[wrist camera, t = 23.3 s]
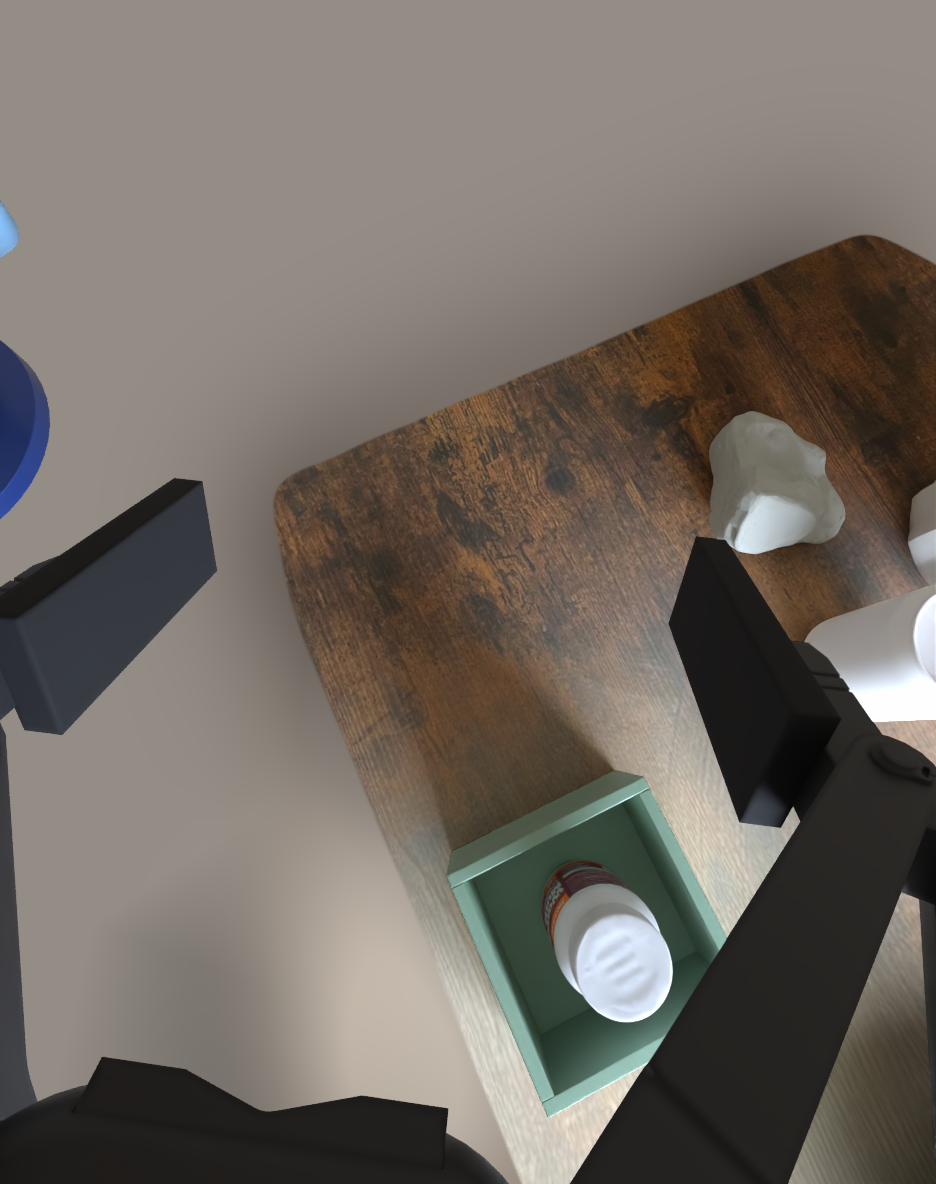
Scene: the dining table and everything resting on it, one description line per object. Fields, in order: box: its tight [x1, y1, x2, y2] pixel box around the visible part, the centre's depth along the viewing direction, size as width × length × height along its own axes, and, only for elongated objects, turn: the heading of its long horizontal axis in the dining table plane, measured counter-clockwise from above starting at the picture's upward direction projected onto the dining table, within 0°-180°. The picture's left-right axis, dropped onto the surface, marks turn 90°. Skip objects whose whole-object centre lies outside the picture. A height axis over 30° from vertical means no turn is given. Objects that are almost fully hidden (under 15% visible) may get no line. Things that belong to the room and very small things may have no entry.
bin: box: [447, 770, 727, 1118], centre depth 38 cm, size 14×14×8 cm
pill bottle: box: [541, 860, 672, 1022], centre depth 36 cm, size 6×6×11 cm
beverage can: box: [804, 585, 936, 722], centre depth 40 cm, size 8×8×12 cm
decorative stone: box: [708, 411, 845, 554], centre depth 46 cm, size 11×9×10 cm
